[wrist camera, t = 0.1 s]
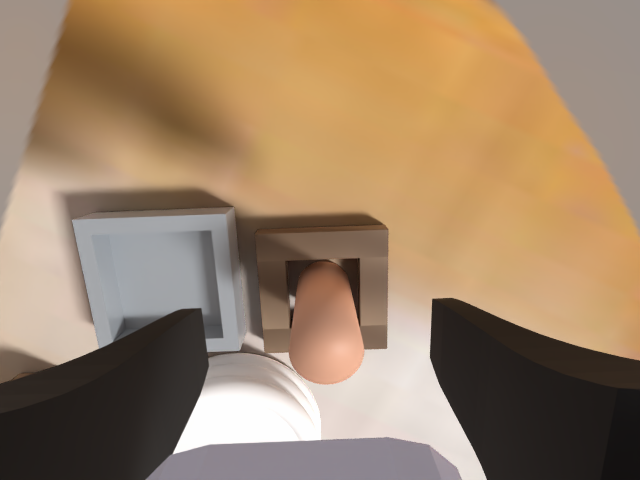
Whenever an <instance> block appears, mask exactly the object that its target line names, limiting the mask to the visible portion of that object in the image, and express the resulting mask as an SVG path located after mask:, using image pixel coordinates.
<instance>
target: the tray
mask: <svg viewBox="0 0 640 480" xmlns="http://www.w3.org/2000/svg"><path fill="white" fill-rule="evenodd" d="M72 223H73V228H74V232H75V237H76V242H77V247H78V251H79V256H80V261H81V265H82V270H83V275H84V279H85V284H86V289H87V294H88V298H89V303H90V308H91V312H92V317H93V322H94V326H95V331H96V336H97V341H98V345H99V349H100V348H102V347H104V346H106V345H108V344H110V343H112V342H114V341H116V340H119V339H121V338H123V337H125V336H127V335H129V334H131V333H133V332H135V331H137V330H139V329H141V328H142V327H144V326H146V325H148V324H150V323H152V322H154V321H156V320H158V319H160V318H162V317H164V316H166V315H168V314H170V313H172V312H174V311H177V310H180V309H188V308H202V316H203V323H204V331H205V339H206V346H207V352H220V351H240V349H241V346H242V343H243V341H244V338H245V335H246V323H245V313H244V303H243V292H242V282H241V272H240V261H239V251H238V241H237V231H236V220H235V210H234V207H219V208H192V209H166V210H139V211H113V212H94V213H91V214H88V215H85V216H82V217H79V218H76V219H73V220H72Z"/></svg>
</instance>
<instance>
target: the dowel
mask: <svg viewBox="0 0 640 480" xmlns="http://www.w3.org/2000/svg"><path fill="white" fill-rule="evenodd" d="M363 356H364V345H363V340H362V336H361V332H360V327H359V323H358V319H357V314H356V310H355V306H354V301H353V297H352V292H351V288H350V284H349V279H348V276H347V274H346V273H345V271H344V270H343V269H342V268H341V267H340V266H338V265H337V264H335V263H332V262H328V261H319V262H315V263H312V264H310V265H309V266H307V267H306V268H305V269H304V270H303V271H302V272H301V274H300V276H299V279H298V284H297V291H296V299H295V307H294V314H293V322H292V329H291V337H290V345H289V357H290V361H291V363H292V366H293V367H294V369H295V370H296V371H297V373H298V374H300V375H301V376H302V377H303V378H305V379H307V380H309V381H311V382H313V383H317V384H335V383H339V382H342V381H344V380H346V379H347V378H349V377H351V376H352V375H353V374H354V373H355V372H356V371H357V370H358V368H359V367H360V365H361V363H362V360H363Z"/></svg>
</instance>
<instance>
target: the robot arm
mask: <svg viewBox="0 0 640 480" xmlns="http://www.w3.org/2000/svg"><path fill="white" fill-rule="evenodd" d="M430 359H431V362H432V365H433V368H434V371H435V374H436V376H437V379H438V382H439V384H440V386H441V388H442V390H443V392H444V394H445V396H446V398H447V400H448V402H449V404H450V406H451V408H452V409H453V411H454V413H455V415H456V417H457V419H458V421H459V423H460V424H461V426H462V428H463V430H464V432H465V434H466V436H467V438H468V440H469V441H470V443H471V445H472V447H473V449H474V451H475V453H476V455H477V457H478V459H479V462H480V464H481V466H482V468H483V471H484V473H485V476H486V478H487V480H640V361H639V360H634V359H629V358H624V357H619V356H615V355H611V354H607V353H602V352H598V351H594V350H590V349H586V348H582V347H579V346H575V345H572V344H569V343H566V342H562V341H559V340H556V339H553V338H550V337H547V336H544V335H541V334H538V333H536V332H533V331H530V330H528V329H525V328H523V327H520V326H518V325H515V324H513V323H511V322H508V321H506V320H504V319H501V318H499V317H497V316H494V315H492V314H490V313H488V312H486V311H483V310H481V309H479V308H477V307H475V306H472V305H470V304H468V303H465V302H463V301H460V300H457V299H454V298H441V299H432V320H431V344H430ZM208 368H209V362H208V354H207V346H206V339H205V331H204V323H203V316H202V308H188V309H180V310H177V311H174V312H172V313H170V314H168V315H166V316H164V317H162V318H160V319H158V320H156V321H154V322H152V323H150V324H148V325H146V326H144V327H142V328H141V329H139V330H137V331H135V332H133V333H131V334H129V335H127V336H125V337H123V338H121V339H119V340H116V341H114V342H112V343H110V344H108V345H106V346H104V347H102V348H100V349H98V350H95V351H93V352H91V353H88V354H86V355H84V356H81V357H79V358H76V359H73V360H71V361H68V362H66V363H63V364H61V365H58V366H55V367H52V368H49V369H46V370H43V371H40V372H37V373H33V374H30V375H27V376H24V377H21V378H18V379H15V380H12V381H8V382H5V383H1V384H0V480H462V479H461V476H460V474H459V472H458V469H457V467H455V466H454V465H453V464H452V463H450V462H449V461H448V460H447V459H445V458H444V457H443V456H442V455H441V454H439V453H438V452H437V451H436V450H434V449H433V448H432V447H431V446H430V445H427V444H422V443H416V442H411V441H405V440H400V439H394V438H389V437H385V438H360V439H334V440H309V441H283V442H258V443H233V444H209V445H205V446H202V447H198V448H194V449H191V450H187V451H183V452H179V453H176V454H173V452H174V450H175V448H176V446H177V444H178V442H179V440H180V438H181V435H182V433H183V431H184V429H185V427H186V425H187V423H188V421H189V419H190V416H191V414H192V412H193V410H194V408H195V406H196V403H197V401H198V399H199V397H200V394H201V391H202V388H203V385H204V382H205V379H206V375H207V372H208Z"/></svg>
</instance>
